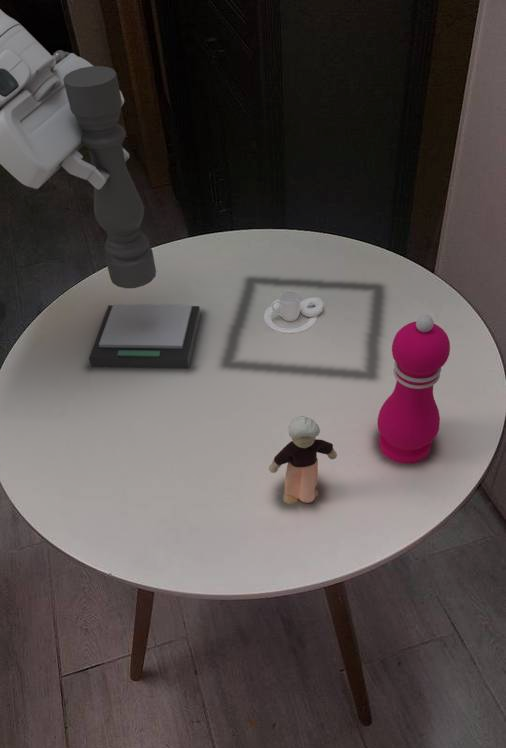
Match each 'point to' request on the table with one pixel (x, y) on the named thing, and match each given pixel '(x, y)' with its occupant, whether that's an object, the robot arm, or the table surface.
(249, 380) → the table surface
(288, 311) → the teacup and saucer
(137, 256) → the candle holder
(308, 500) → the grandmother figurine
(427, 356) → the pepper mill
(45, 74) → the robot arm
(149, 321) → the scale
